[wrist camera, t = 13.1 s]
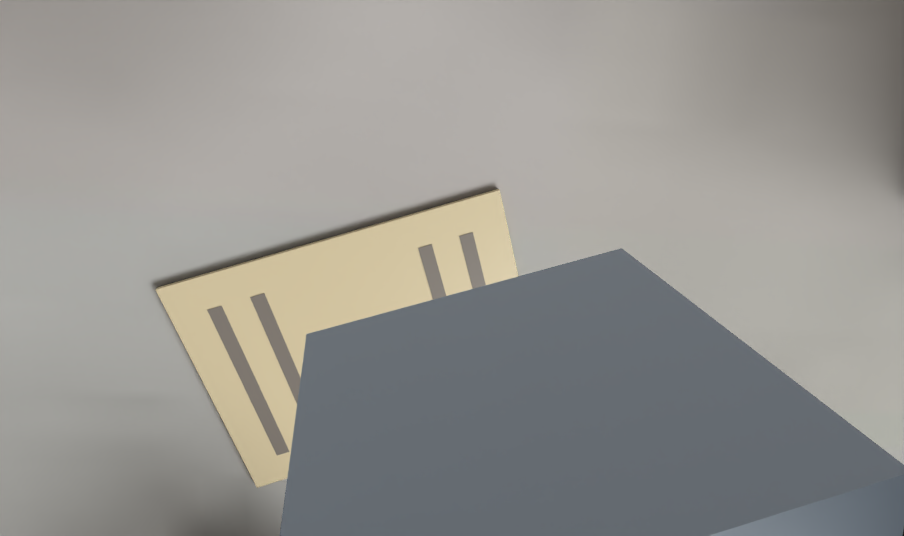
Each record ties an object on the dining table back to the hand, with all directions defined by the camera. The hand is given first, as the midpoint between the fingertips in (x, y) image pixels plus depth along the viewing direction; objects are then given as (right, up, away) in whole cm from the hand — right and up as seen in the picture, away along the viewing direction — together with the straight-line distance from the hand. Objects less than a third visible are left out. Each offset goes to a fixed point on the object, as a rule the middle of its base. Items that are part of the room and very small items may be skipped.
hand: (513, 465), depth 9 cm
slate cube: (0, 0, +1) cm, 1 cm away
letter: (-4, 0, +13) cm, 13 cm away
